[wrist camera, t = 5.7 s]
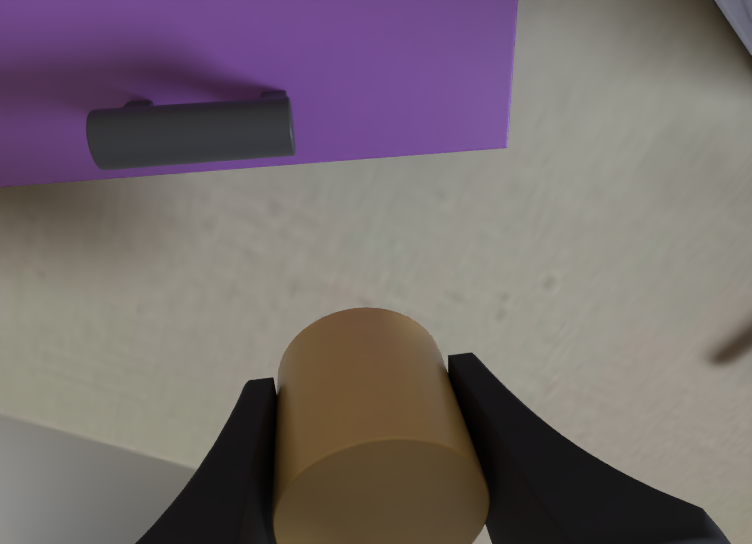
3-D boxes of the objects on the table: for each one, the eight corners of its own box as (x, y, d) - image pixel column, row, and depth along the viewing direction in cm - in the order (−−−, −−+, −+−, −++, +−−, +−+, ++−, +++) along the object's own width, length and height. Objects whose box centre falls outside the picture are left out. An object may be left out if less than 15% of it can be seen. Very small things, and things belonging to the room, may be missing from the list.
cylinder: (475, 362, 16) (534, 498, 12) (369, 459, 17) (391, 611, 13) (351, 275, 14) (373, 401, 10) (243, 391, 15) (225, 542, 11)
